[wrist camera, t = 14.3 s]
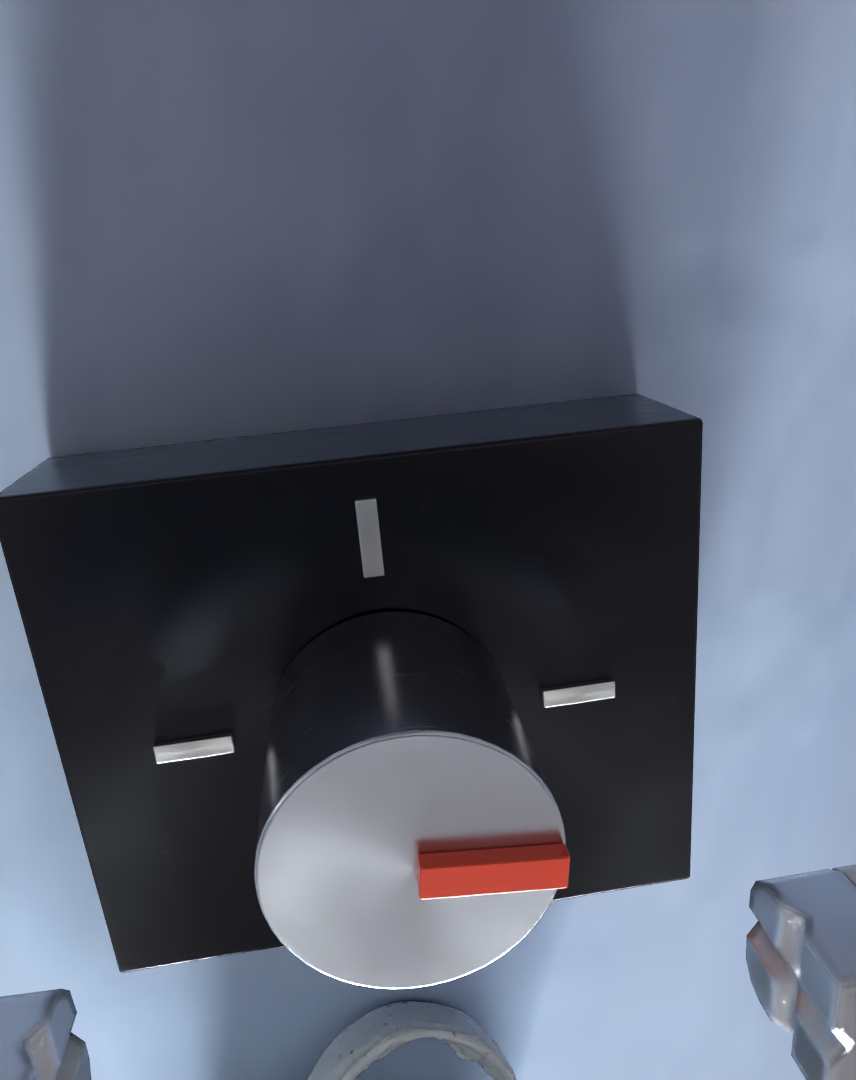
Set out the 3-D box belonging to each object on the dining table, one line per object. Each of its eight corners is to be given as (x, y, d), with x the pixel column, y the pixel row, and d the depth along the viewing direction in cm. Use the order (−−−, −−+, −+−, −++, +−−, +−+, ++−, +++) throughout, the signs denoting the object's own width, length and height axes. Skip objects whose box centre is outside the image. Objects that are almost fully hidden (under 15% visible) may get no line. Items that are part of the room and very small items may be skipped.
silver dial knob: (276, 825, 15) (260, 1022, 11) (265, 614, 14) (242, 755, 10) (500, 809, 16) (561, 993, 12) (511, 606, 15) (585, 735, 11)
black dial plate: (149, 870, 19) (116, 982, 16) (46, 457, 16) (-18, 502, 13) (639, 793, 20) (694, 884, 17) (640, 393, 17) (708, 419, 14)
